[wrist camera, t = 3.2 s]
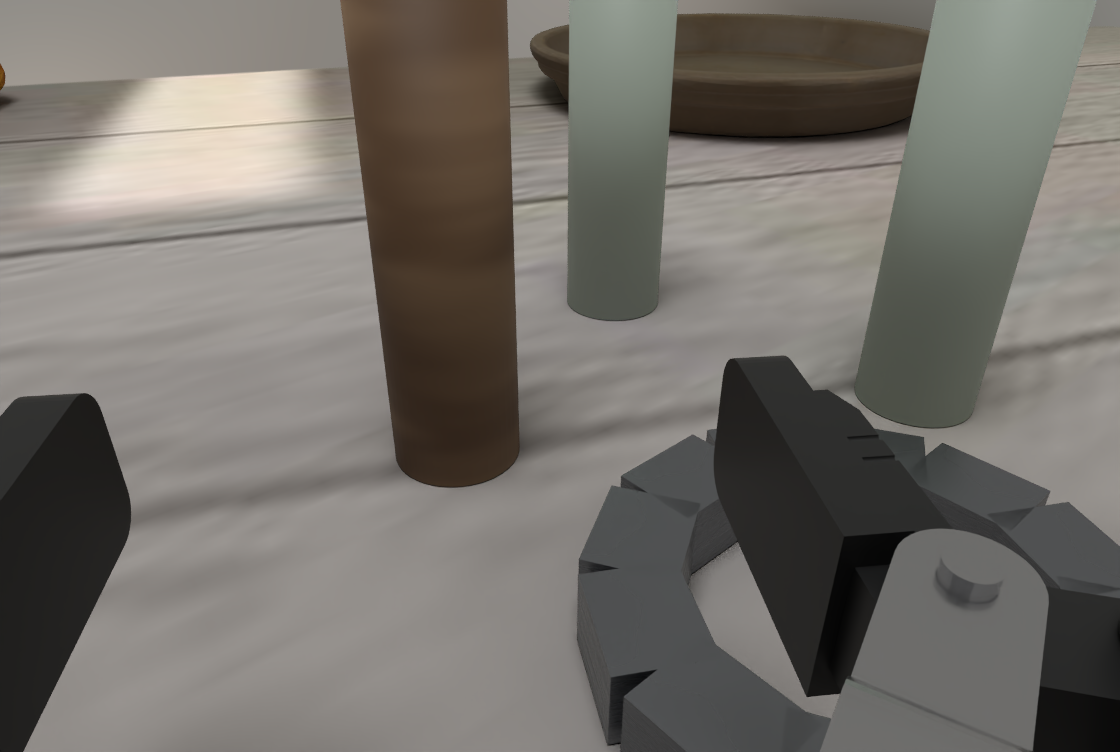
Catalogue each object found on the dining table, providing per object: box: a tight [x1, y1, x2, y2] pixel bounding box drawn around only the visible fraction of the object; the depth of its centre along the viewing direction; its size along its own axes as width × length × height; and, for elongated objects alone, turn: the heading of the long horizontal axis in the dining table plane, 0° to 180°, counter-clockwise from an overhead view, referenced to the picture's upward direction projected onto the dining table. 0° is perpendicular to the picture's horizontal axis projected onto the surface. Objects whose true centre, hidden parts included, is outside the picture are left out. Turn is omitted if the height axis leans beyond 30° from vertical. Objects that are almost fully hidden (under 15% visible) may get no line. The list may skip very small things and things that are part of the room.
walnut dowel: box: [340, 0, 519, 487], centre depth 20 cm, size 3×3×12 cm
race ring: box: [577, 429, 1120, 752], centre depth 17 cm, size 11×11×2 cm
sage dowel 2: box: [855, 0, 1097, 428], centre depth 22 cm, size 3×3×12 cm
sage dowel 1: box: [567, 0, 678, 320], centre depth 28 cm, size 3×3×12 cm
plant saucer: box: [530, 13, 930, 137], centre depth 62 cm, size 31×31×5 cm
